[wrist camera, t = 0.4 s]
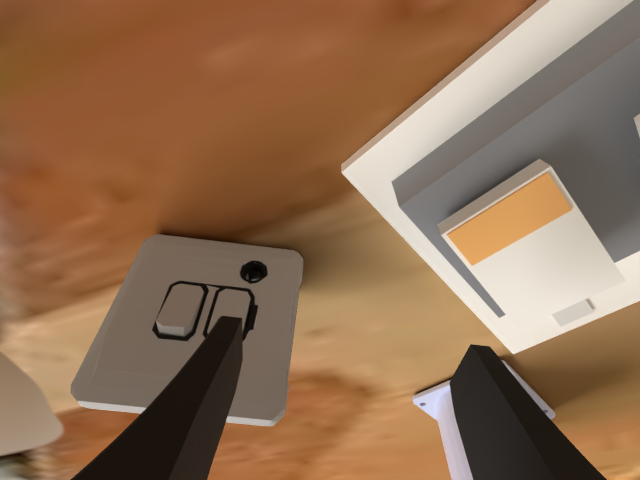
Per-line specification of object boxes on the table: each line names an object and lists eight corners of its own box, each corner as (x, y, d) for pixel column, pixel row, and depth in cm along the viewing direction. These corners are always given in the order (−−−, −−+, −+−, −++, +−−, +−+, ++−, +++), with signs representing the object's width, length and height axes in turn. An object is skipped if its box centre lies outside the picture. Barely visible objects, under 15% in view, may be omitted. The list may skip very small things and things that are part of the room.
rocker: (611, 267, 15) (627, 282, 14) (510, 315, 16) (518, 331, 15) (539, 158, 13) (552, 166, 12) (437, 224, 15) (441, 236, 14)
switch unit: (800, 213, 18) (904, 261, 15) (507, 342, 25) (533, 396, 21) (723, -155, 11) (889, -222, 8) (341, 164, 18) (342, 202, 14)
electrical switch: (306, 247, 21) (286, 403, 14) (299, 303, 24) (281, 451, 17) (148, 228, 20) (44, 377, 13) (164, 287, 24) (87, 431, 17)
